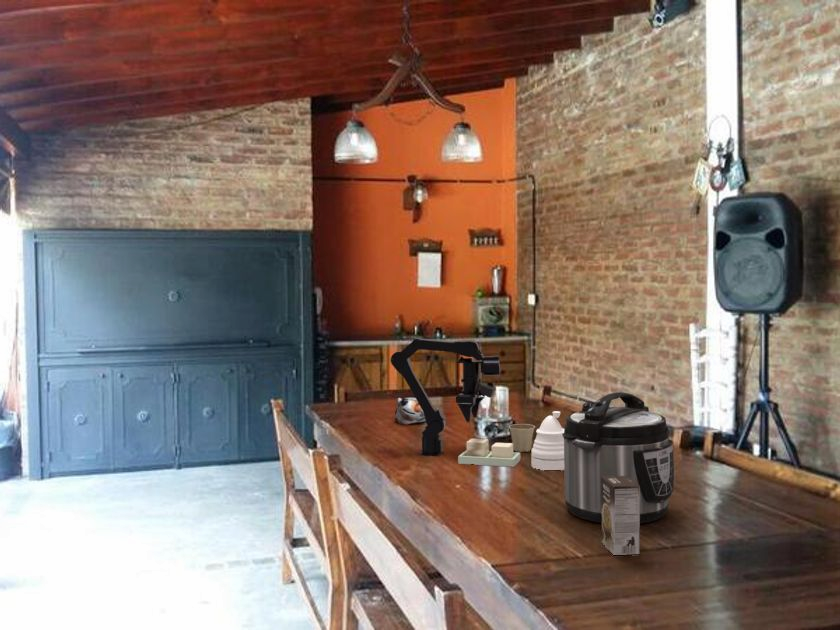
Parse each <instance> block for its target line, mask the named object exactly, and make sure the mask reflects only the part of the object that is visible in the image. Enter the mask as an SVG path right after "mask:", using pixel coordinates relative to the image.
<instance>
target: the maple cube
mask: <svg viewBox="0 0 840 630" xmlns="http://www.w3.org/2000/svg"><path fill="white" fill-rule="evenodd" d="M489 444H490V443H489V439H488V438H486V439H485V438H470V439H468V440H467V441H466V450H467V456H474V457H486V456H487V455H488V454H489V451H490V450H489V449H490V448H489V446H490V445H489Z"/></svg>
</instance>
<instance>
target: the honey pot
mask: <svg viewBox="0 0 840 630" xmlns="http://www.w3.org/2000/svg"><path fill="white" fill-rule="evenodd" d="M551 414H552V415H548V416H546V417H545V418H544V419H543V421H542V422H541V424H540V427H539V428H537V429H536V431H535V432H536V436H535V439H534V440H533V441H534V443H533V444H532V447H531V451H530V452H531V457H530V458H531V460H530V461H531V462H530V463H531V467H532V468H533V469H535V468H536V469H535V470H538V469H540V470H539V471H544V470H561V471H564V438H563V435H562V433H564V427H562V425H561V423H560V422H559V420H558V418H560V416H561V411H558V410H557V411H556V410H555V411H552V413H551Z"/></svg>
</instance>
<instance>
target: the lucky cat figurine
mask: <svg viewBox="0 0 840 630" xmlns="http://www.w3.org/2000/svg"><path fill="white" fill-rule="evenodd" d="M396 399H397V400H396V404H397V405H396V409H395V411H394V416H395V417H394V420H395V421H396V422H397V424H400V425H405V426H406V425H410V424H417V423H426V420H425V416H424V413H423V410H422V409H421V407H420V405H419V403H418V402H417V400H416V398H415V397H405V398H404V397H403V398H401V397H398V398H396Z"/></svg>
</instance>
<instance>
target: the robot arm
mask: <svg viewBox="0 0 840 630" xmlns="http://www.w3.org/2000/svg"><path fill="white" fill-rule="evenodd" d="M419 350H424V351H434V352H435V351H436V352H444V353H445V352H447V353H453V354H456V355H459V356H460V358H458V360H457V361H456V363H457V364H462V365H461V366H462V378H461V379H460V381H461V383H462V390H461V393H458V395H457V396H455V403H456V404H457V406H458V408H459V409H460V411H461V413H462V416H463V417H464V420H465V422H466V423H470V421H471V416H472V417H473V418H477V417H478V413H479V409H480V404H481V402H482V401H483V400H484V399H486V398H490V399H491V398H492V397H494V395H495V392H496V390H497V389H496V388H497V387H496V386H495V382H492V381H489V382H488V383H486V382H482V378H481V377H480V374H479V373H482V374H483V375H484V376H501V365H500V356H499V355H493V356H491V355H490V356H485V355H484V353H482V351H481V350H480V348H479V343H478V342H477V341H476V340H475V339H471V338H470V339H460V340H442V339H432V338H423V337H416V338H414V339H412V341H411V342H410V343H409V344H407V346H405V347H404V348H403V349H402V350H401V349H399V350H397V351H395V352H394V353H393V354H392V355H391V357H390V363H391V365H392V366H393V368H394V369H395V370H396V371H397V372H398V374H399V375H400V376H402V377H403V378H404V379H403V380H405V382H406V384H407V386H408V387H409V389H410V390H411V392H412V394H413V397H414V398H416V400H417V402H418V403H419V405H420V407H421V409H422V410H423V413H424V416H425V420H426V422H425V423H426V426H425V427H424V429H423V430H422V431H421V435H422V436H421V452H420V455H426V456H427V455H428V456H439V455H440V454H442V453H443V452H444V447H443V446H444V445H443V444H444V442H443V441H444V440H443V439H442V434H441V435H440V433H442V432H443V430H444V429H445V426H446V417H447V416H446V415H445V414H444V413H443V411H442V409H441V407H440V406H439V407H438V408H436V407H435V406H434V404H433V403H432V401H431V399H430V398H429V396H428V394H427V393H426V391H425V389H424V387H423V385H422V384H421V382H420V380H419V379H418V377H417V375H416V373H415V370H414V368H413V365H412V361H411V359H410V357H413V355H414V354H416V353H417V352H418V351H419ZM473 359H475V360H473ZM485 397H486V398H485Z"/></svg>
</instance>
